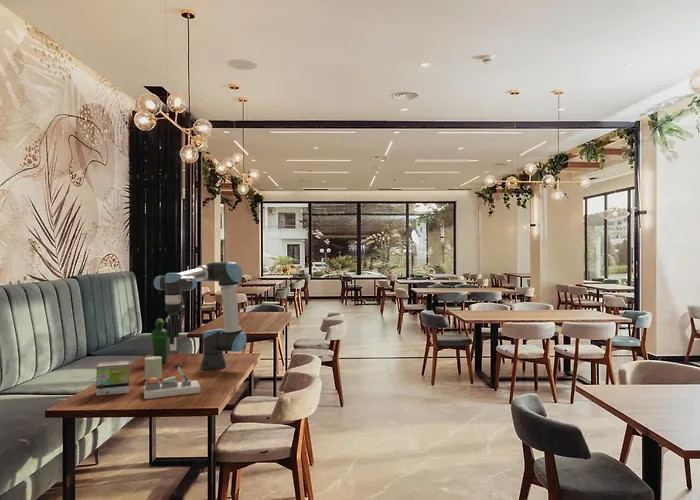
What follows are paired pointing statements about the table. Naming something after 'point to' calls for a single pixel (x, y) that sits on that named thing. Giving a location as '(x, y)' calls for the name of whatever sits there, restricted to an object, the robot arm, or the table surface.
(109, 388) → the tea box
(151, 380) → the push button
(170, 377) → the rocker switch
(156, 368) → the can
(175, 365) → the toggle lever
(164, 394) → the switch panel
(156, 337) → the bottle
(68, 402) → the table surface
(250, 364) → the table surface
